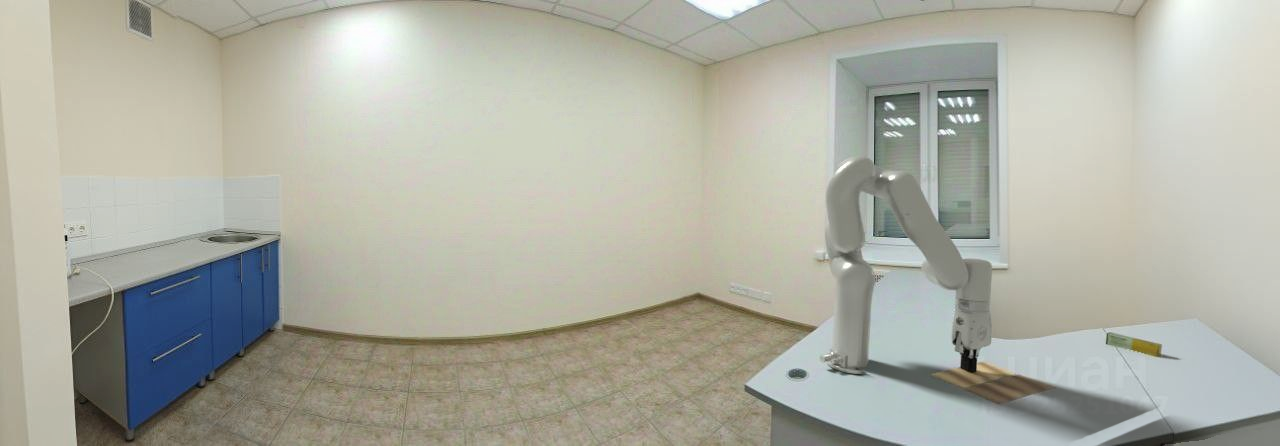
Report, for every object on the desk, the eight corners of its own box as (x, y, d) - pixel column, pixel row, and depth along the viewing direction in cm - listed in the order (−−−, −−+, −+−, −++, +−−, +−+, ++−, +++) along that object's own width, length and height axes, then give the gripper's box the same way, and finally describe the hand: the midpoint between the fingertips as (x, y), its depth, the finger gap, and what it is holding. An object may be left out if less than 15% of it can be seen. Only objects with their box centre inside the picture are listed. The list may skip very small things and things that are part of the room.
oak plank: (962, 393, 113) (963, 388, 112) (931, 378, 120) (932, 373, 120) (1015, 378, 121) (1015, 373, 121) (983, 365, 128) (983, 361, 128)
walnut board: (998, 410, 105) (999, 403, 104) (963, 394, 112) (963, 389, 112) (1054, 392, 113) (1055, 386, 113) (1018, 379, 121) (1018, 374, 121)
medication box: (1104, 344, 148) (1105, 333, 147) (1108, 343, 149) (1109, 331, 148) (1157, 358, 137) (1159, 345, 136) (1161, 356, 138) (1163, 343, 137)
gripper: (969, 312, 114) (965, 381, 116) (1004, 305, 120) (1000, 371, 122) (939, 304, 121) (936, 370, 123) (974, 298, 127) (970, 361, 128)
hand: (968, 370), depth 122 cm, fingers closed
